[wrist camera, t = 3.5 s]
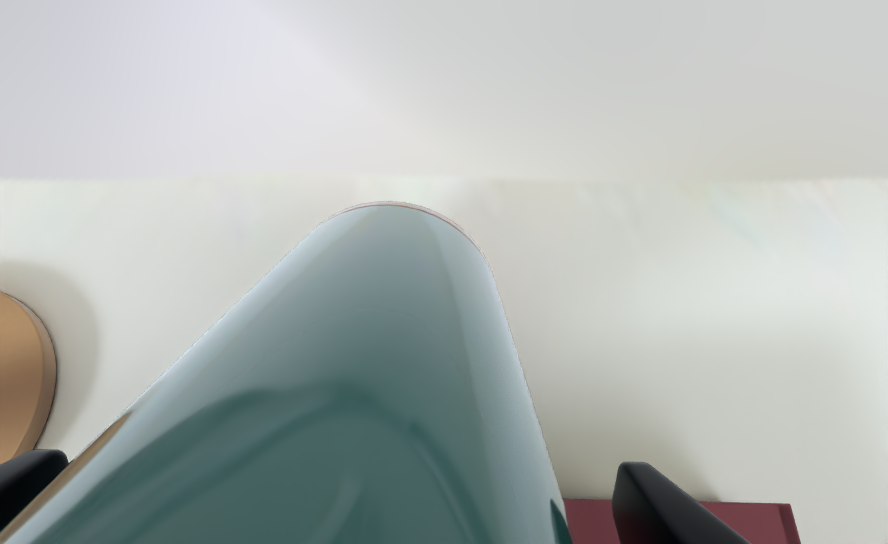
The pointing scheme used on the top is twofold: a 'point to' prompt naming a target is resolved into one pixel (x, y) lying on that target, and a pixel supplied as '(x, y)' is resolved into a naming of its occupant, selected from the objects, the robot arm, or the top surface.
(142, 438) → the pencil cup
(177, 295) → the top surface
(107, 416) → the top surface
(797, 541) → the book
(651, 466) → the robot arm
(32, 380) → the coaster
